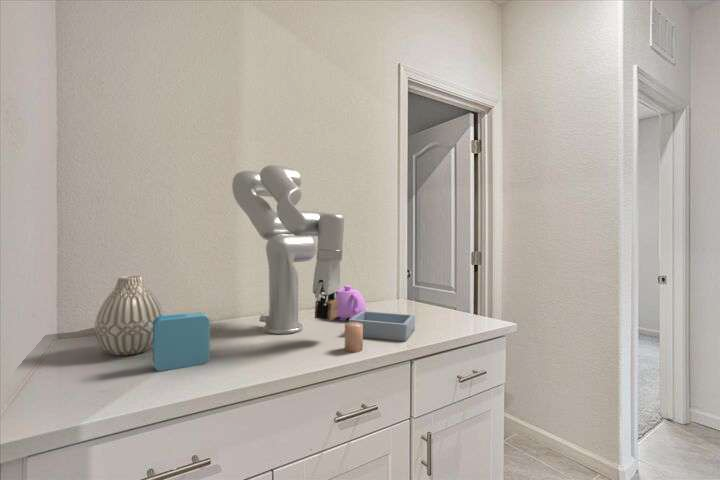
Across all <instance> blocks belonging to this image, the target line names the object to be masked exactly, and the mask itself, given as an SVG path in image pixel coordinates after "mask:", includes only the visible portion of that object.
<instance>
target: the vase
mask: <svg viewBox="0 0 720 480" xmlns="http://www.w3.org/2000/svg"><path fill="white" fill-rule="evenodd" d="M159 316H165V315H164V311H163V309H162V307H161V304H160V301H158V299H157V298H156V297H155V295H154V293H152V291H151V290H150V289H149V288H148V287H147V285H146V283H145V280H144V277H143V276H142V275H123V276H119V277H118V279H117V281H116V284H115V287H114V288H113V290H112V291H111V292H110V294H109V295H108V296H107V297H106V298H105V300H104V301H103V303H102V304H101V306H100V308H99V310H98V312H97V314H96V317H95V322H94V332H95V333H94V334H95V338H96V340H97V342H98V343H99V344H98V345H100V346H101V347H102V349H104V350H105V351H106V352H108V353H109V354H111V355H114V356H130V355H131V356H132V355H136V354H137V355H138V354H141V353H144V352H147V351H148V350H149V349H151V348H153V321H154V320H155V318H157V317H159Z"/></svg>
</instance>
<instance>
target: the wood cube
mask: <svg viewBox="0 0 720 480" xmlns="http://www.w3.org/2000/svg"><path fill="white" fill-rule="evenodd" d="M323 298H324V299H325V297H323ZM314 305H315V307H314V319H319V320H322V319H321V318H317V300H316V301H315V304H314ZM327 305H328V317H327V319H323V320H325V321H333V320H334V319H336V318H338V317H337V306H338V300H333V299H328V301H327Z"/></svg>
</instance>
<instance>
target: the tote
mask: <svg viewBox="0 0 720 480" xmlns="http://www.w3.org/2000/svg"><path fill="white" fill-rule="evenodd" d="M350 322H357V323H362V324H363V338H368V339H379V340H387V341H388V340H390V341H397V342H399V341H400V342H407V341H408V339H409V338H410V337H411V336H412V335H413V333H414V332H415V330H416V329H415V328H416V315H415V314H405V313H395V312H394V313H392V312H382V311H370V310H368V311H367V310H366V311H362V312H360V313H359V314H357V315H356V316H354V317H352V318H348V323H350Z"/></svg>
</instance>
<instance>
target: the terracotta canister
mask: <svg viewBox="0 0 720 480" xmlns="http://www.w3.org/2000/svg"><path fill="white" fill-rule="evenodd" d="M363 344H364V337H363V324H362V323H357V322H350V323H349V322H346V323H345V324H344V351H345V352H348V353H360V352H362V351H363V348H364V347H363Z"/></svg>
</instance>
